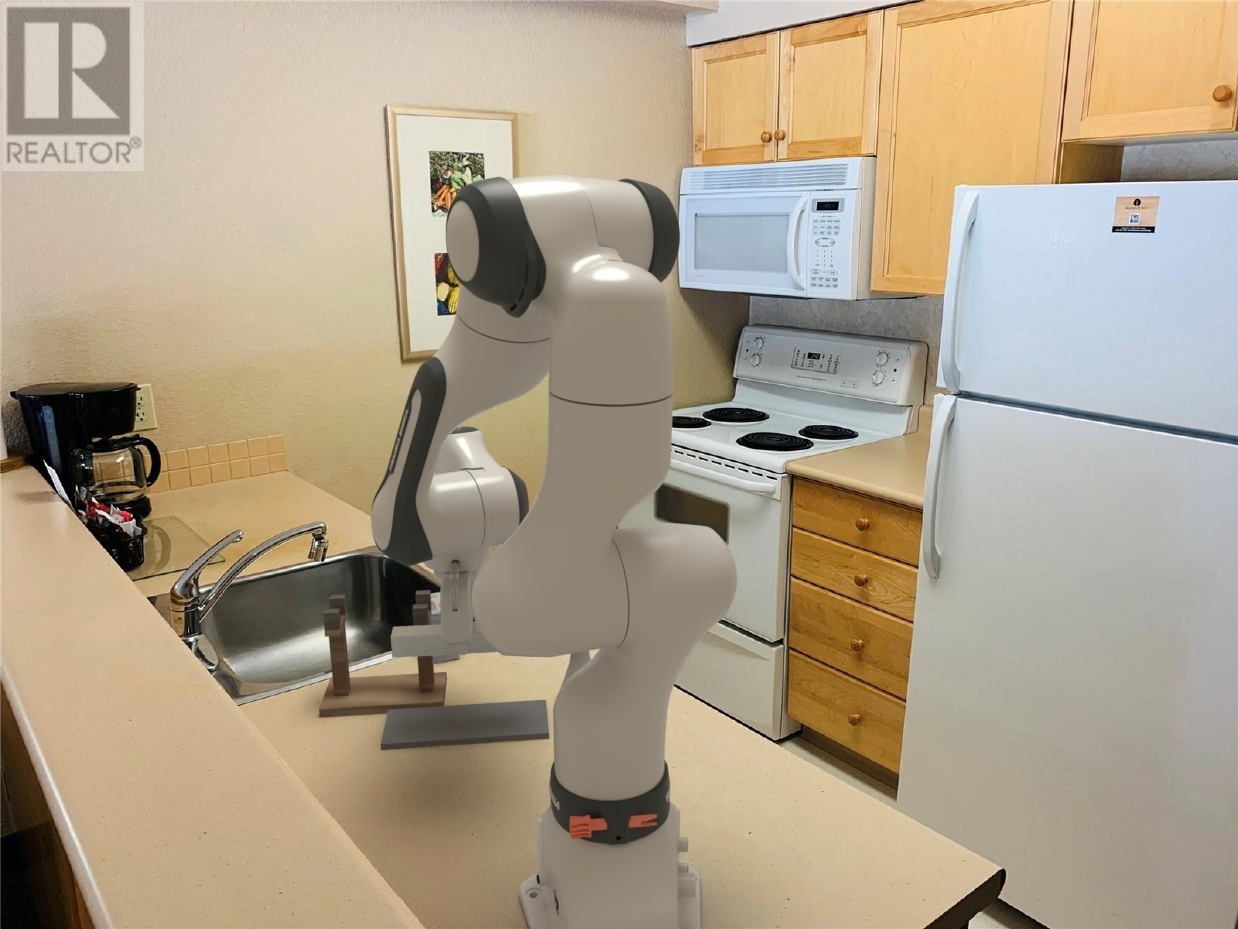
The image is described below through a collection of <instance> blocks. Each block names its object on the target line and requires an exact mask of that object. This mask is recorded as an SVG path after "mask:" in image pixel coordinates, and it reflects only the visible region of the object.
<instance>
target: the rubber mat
mask: <svg viewBox="0 0 1238 929" xmlns="http://www.w3.org/2000/svg"><path fill="white" fill-rule="evenodd" d="M548 716H549V715H548V705H547V699H535V700H534V699H533V700H518V701H503V702H502V701H500V702H487V703H486V702H485V703H484V702H483V703H471V704H470V703H469V704H468V703H467V704H454V705H444V706H435V707H419V708H403V709H388V713H386V719H385V722H384V727H383V731H382V736H381V740H380V750H392V749H393V750H394V749H396V750H397V749H408V748H424V747H438V746H453V745H468V744H469V745H470V744H484V743H486V744H487V743H496V742H497V743H498V742H512V741H513V742H514V741H526V740H543V739H550V727H549V718H548Z"/></svg>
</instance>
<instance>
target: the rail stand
mask: <svg viewBox="0 0 1238 929" xmlns="http://www.w3.org/2000/svg"><path fill="white" fill-rule="evenodd" d="M415 591H416V592H415V604H413V605H412V608H411V610H412V620H413V621H412V623H413V624H412V626H419V625H431V613H432V606H431V594H432V593H431V591H432V590H431V589H430V590H429V589H427V590H415ZM346 596H347V595H346V593H345V594H331V595H330V597H329V608H324V611H323V613H322V616H323V627H324V637H326V638H328V643H329V652H330V667H331V674H332V675H331V676H332V678H329V681H328V683H327V687H326V689H325V692H324V695H323V697H322V700H321V704H319V708H318V713H319V716H318V717H319V718H328V717H343V716H345V717H346V716H359V715H374V714H375V715H376V714H377V715H378V714H387V713H388V709H403V708H419V707H435V706H445V698H446V691H447V690H446V689H447V680H448V677H447V676H448V675H447V674H448V673H447V671H441V672H440V671H438V672H435V669H434V664H435V663H433V656H416V657H417V669H418V670H417V671H418V673H408V674H407V673H406V674H405V673H404V674H388V675H373V676H358V677H357V676H356V677H354V676H353V677H350V675H351V674H350V667H349V666H350V665H349V654H348V644H347V642H348V641H347V631H346V621H347V618H348V610H347V609H348V608H347V598H346Z"/></svg>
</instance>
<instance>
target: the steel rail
mask: <svg viewBox="0 0 1238 929" xmlns="http://www.w3.org/2000/svg"><path fill="white" fill-rule="evenodd" d="M390 643H391V657H392V658H408V657H411V658H412V657H417V656H433V655H451V654H454V645H445V644H444V643H443V641H442V634H441V624H439V625H419V626H414V625H407V626H406V625H404V626H403V625H402V626H401V625H400V626H393V627H392V630H391V634H390ZM484 653H499V652H498V651H496V650H495V649H494V648H493V647H492V646H490V644H489V643H488V642H487V641H486V640H485V639H484V637H483V636H482V634H481V633H480V631H479V629H478V627H477V624H476V622H473V629H472V640H471V642H470V643H469V644H468V652H467V654H466V655H468V654H484Z"/></svg>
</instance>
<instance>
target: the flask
mask: <svg viewBox="0 0 1238 929" xmlns="http://www.w3.org/2000/svg"><path fill="white" fill-rule="evenodd" d="M569 655H570V656H569V661H568V665H567V668H566V672H565V675H564V677H563V681H562V683H561V686H560V688H559V690H560V689H561V687H562V685H563V684H564V683H565V681H566V680H567V679H568V678H569V677H570V676H571V675H573V674H574V673H575V672H576V671H578V670H579V669H580V668H582V667H583V666H584V665H586V664H587V663H588V662H589V661H590V660H591V659H592V658H591V654H590V650H589V651H584V652H578V653H572V654H569Z"/></svg>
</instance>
